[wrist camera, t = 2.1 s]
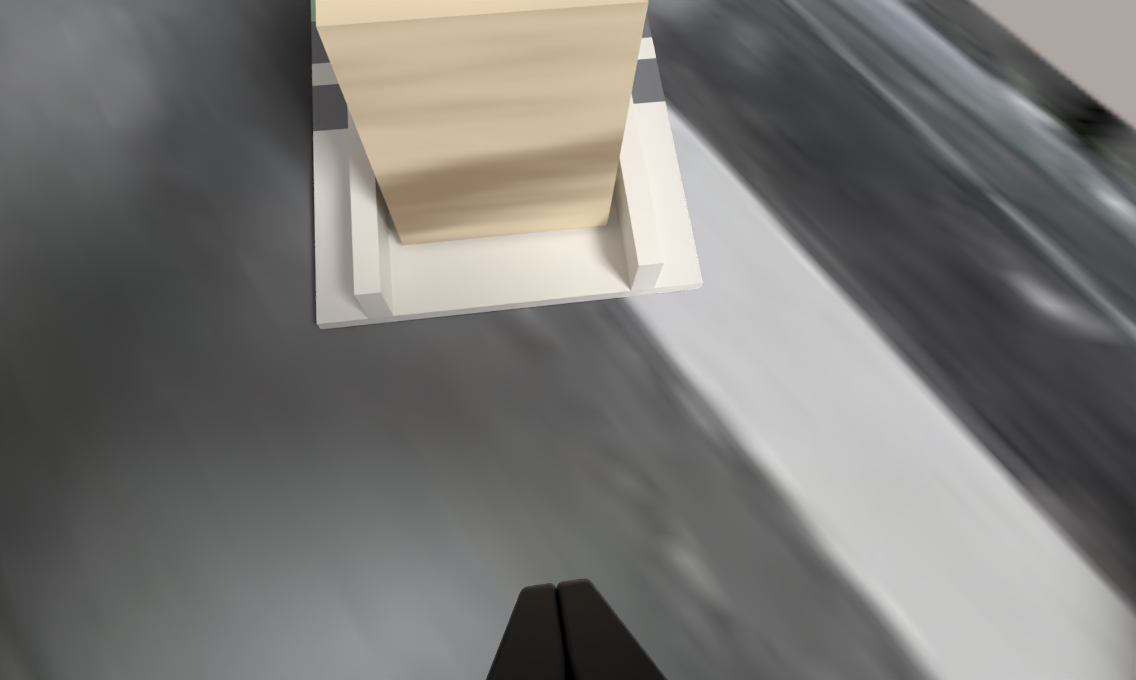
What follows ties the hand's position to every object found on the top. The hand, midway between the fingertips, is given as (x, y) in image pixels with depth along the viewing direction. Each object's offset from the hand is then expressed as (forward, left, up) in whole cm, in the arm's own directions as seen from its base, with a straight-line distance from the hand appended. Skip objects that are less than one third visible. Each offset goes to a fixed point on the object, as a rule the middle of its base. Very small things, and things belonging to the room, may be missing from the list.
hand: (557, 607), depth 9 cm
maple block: (+11, -9, -13) cm, 19 cm away
